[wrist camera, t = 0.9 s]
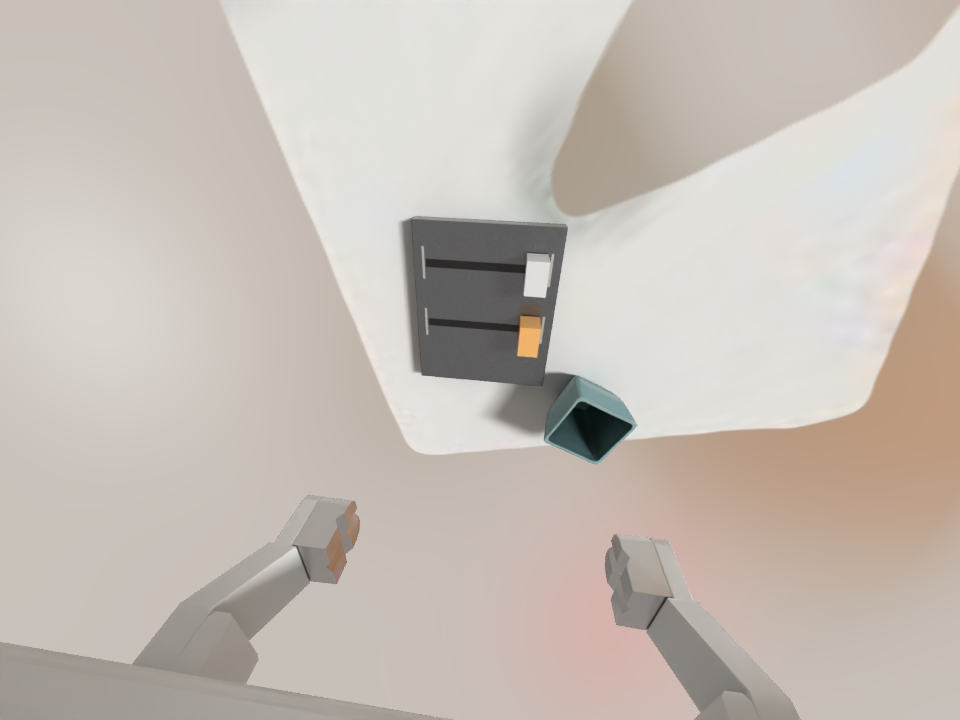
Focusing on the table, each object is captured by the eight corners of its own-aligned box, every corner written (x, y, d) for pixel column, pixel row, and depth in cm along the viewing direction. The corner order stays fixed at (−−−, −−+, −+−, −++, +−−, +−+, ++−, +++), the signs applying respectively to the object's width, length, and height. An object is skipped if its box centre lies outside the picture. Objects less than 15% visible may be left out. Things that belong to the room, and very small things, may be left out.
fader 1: (527, 253, 40) (527, 261, 37) (548, 254, 40) (550, 262, 37) (523, 285, 42) (523, 296, 39) (544, 287, 42) (545, 297, 39)
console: (415, 216, 41) (410, 218, 40) (565, 224, 40) (567, 227, 38) (424, 368, 53) (421, 375, 51) (541, 378, 51) (542, 386, 50)
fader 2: (520, 315, 44) (520, 327, 41) (539, 317, 44) (541, 329, 41) (517, 342, 46) (517, 355, 43) (536, 344, 46) (537, 357, 43)
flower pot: (539, 400, 54) (542, 442, 46) (571, 359, 49) (579, 397, 42) (587, 422, 55) (597, 466, 47) (622, 383, 50) (639, 424, 43)
